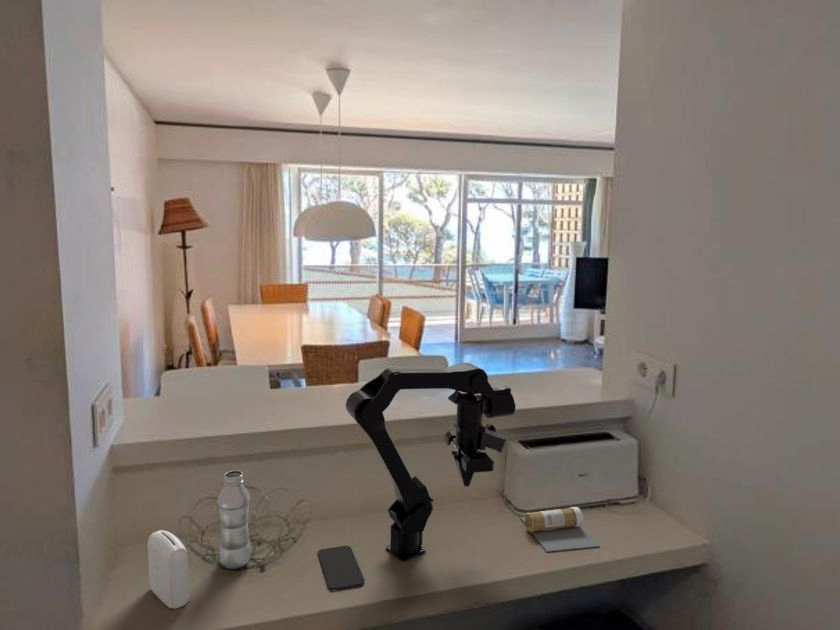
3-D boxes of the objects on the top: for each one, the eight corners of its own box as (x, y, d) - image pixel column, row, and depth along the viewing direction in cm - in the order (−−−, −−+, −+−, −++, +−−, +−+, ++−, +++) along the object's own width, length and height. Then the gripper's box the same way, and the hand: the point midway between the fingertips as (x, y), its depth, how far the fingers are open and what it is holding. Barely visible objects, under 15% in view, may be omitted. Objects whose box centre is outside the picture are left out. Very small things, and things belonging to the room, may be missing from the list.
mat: (546, 552, 132) (546, 551, 132) (519, 517, 148) (519, 516, 148) (599, 546, 135) (599, 545, 135) (567, 513, 150) (567, 512, 150)
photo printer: (146, 588, 115) (143, 529, 113) (168, 579, 119) (166, 521, 117) (170, 613, 108) (167, 550, 107) (192, 602, 112) (190, 541, 110)
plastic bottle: (257, 558, 127) (256, 469, 124) (240, 576, 120) (238, 483, 117) (231, 553, 128) (229, 465, 125) (212, 570, 122) (209, 478, 119)
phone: (350, 544, 132) (366, 582, 118) (350, 548, 133) (366, 586, 118) (316, 549, 130) (329, 589, 116) (316, 553, 130) (329, 593, 116)
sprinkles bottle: (528, 535, 140) (579, 529, 144) (533, 527, 137) (586, 521, 141) (522, 517, 143) (572, 511, 147) (527, 509, 140) (579, 503, 144)
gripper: (518, 432, 125) (514, 501, 128) (489, 405, 143) (486, 466, 146) (468, 435, 123) (465, 505, 125) (445, 407, 141) (443, 469, 143)
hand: (466, 485), depth 135 cm, fingers closed
